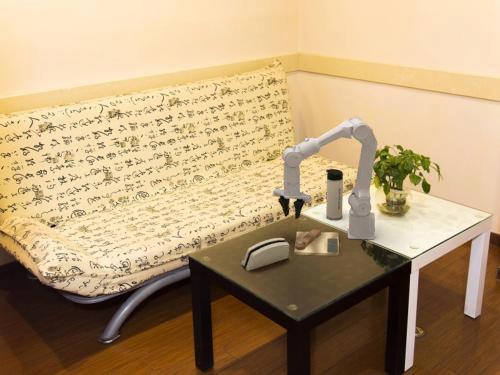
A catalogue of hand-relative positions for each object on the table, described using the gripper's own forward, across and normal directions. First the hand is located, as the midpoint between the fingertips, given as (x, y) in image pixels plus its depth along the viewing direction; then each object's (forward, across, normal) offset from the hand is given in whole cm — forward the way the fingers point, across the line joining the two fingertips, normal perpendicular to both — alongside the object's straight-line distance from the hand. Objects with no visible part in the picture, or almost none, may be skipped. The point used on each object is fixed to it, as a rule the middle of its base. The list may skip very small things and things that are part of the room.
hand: (292, 216), depth 213 cm
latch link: (+8, +7, 0) cm, 10 cm away
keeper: (+9, +17, -2) cm, 20 cm away
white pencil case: (+10, +1, -20) cm, 22 cm away
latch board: (+9, +10, +1) cm, 13 cm away
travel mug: (+10, +5, +26) cm, 28 cm away
